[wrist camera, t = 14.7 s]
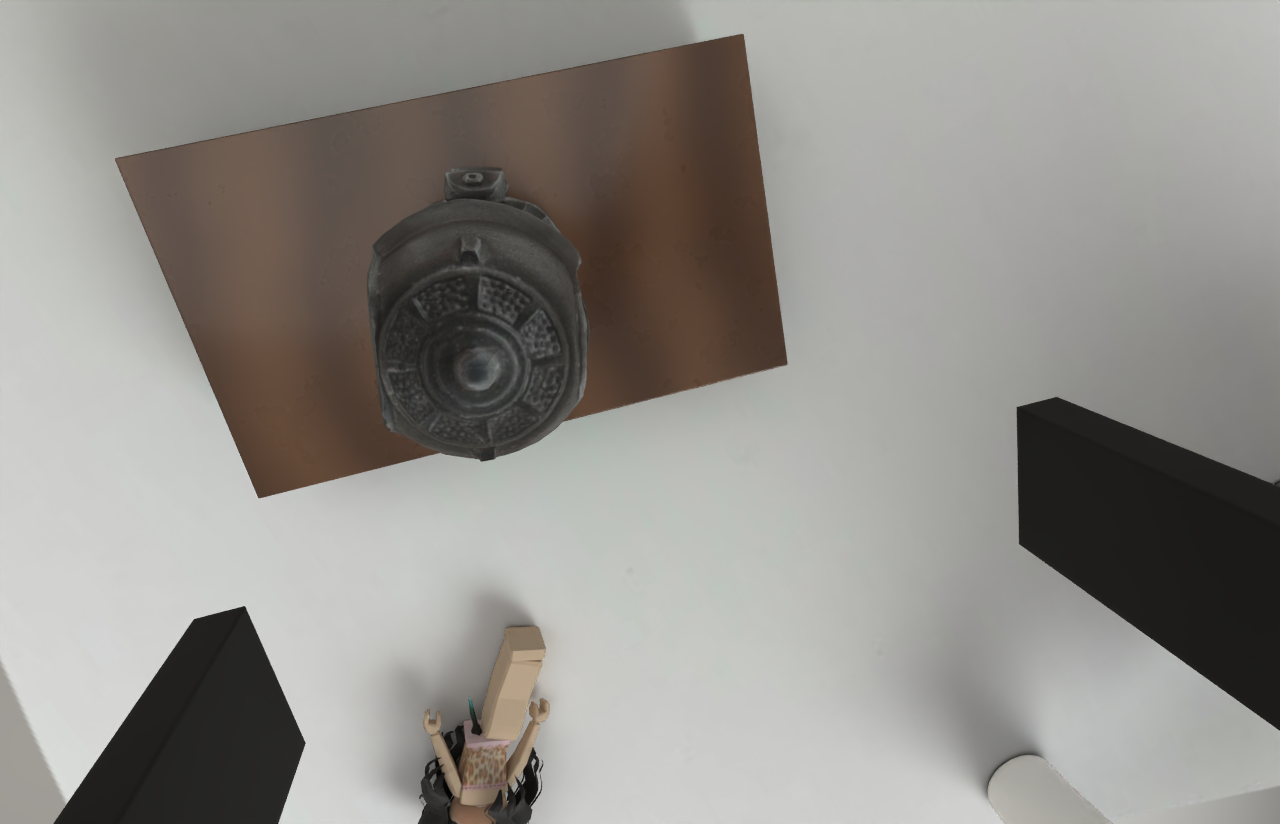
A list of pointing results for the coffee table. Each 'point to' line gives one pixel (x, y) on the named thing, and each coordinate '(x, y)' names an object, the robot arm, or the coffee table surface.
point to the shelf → (414, 178)
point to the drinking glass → (1038, 795)
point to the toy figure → (491, 745)
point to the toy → (477, 321)
